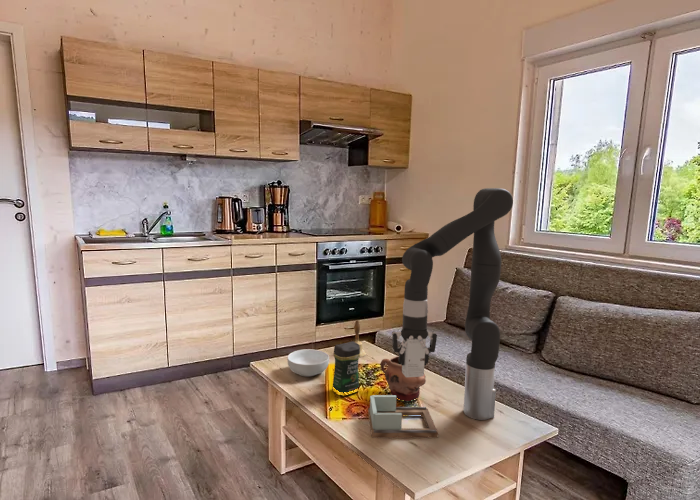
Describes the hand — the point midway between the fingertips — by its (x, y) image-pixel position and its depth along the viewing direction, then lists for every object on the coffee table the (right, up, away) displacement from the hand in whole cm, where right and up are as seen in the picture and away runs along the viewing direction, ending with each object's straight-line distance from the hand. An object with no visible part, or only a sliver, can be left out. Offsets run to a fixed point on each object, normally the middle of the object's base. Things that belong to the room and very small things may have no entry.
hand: (413, 364), depth 134 cm
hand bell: (-17, -12, +63) cm, 66 cm away
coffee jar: (-21, -17, +25) cm, 37 cm away
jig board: (-3, -20, +2) cm, 20 cm away
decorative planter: (-1, -18, +22) cm, 28 cm away
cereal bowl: (-37, -15, +41) cm, 57 cm away
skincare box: (0, -3, +1) cm, 3 cm away
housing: (-9, -18, +2) cm, 20 cm away
